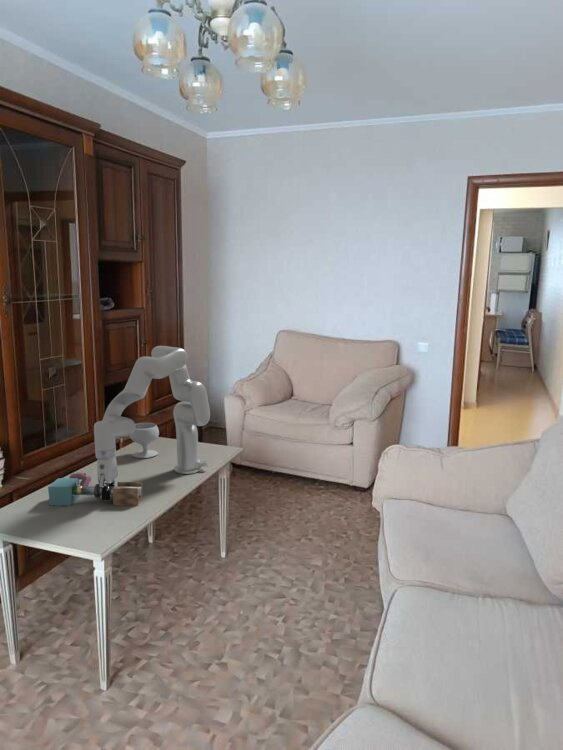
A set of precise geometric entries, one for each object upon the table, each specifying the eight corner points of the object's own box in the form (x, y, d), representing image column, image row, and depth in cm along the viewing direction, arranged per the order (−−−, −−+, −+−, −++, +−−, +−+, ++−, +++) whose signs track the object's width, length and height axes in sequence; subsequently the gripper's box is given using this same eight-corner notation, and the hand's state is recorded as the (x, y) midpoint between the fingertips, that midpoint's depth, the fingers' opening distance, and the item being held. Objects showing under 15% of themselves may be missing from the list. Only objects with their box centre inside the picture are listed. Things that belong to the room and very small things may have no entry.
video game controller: (90, 490, 227) (94, 474, 229) (83, 489, 223) (87, 472, 225) (70, 488, 230) (74, 471, 232) (63, 487, 226) (67, 470, 228)
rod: (143, 494, 215) (142, 481, 214) (139, 500, 210) (138, 487, 209) (79, 494, 215) (78, 481, 214) (73, 499, 210) (72, 486, 209)
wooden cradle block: (142, 498, 216) (142, 482, 215) (138, 505, 209) (137, 488, 208) (119, 497, 216) (118, 481, 215) (113, 505, 209) (112, 488, 208)
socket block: (79, 496, 217) (78, 478, 216) (70, 505, 209) (68, 487, 207) (59, 496, 218) (58, 478, 216) (49, 505, 209) (48, 486, 207)
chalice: (165, 452, 271) (164, 423, 269) (148, 461, 259) (146, 430, 256) (142, 449, 277) (141, 420, 274) (124, 457, 264) (123, 427, 262)
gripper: (108, 460, 201) (110, 506, 204) (122, 445, 217) (124, 488, 221) (88, 459, 201) (91, 506, 204) (103, 445, 218) (106, 488, 221)
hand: (108, 496), depth 212 cm, fingers open, 4 cm apart
